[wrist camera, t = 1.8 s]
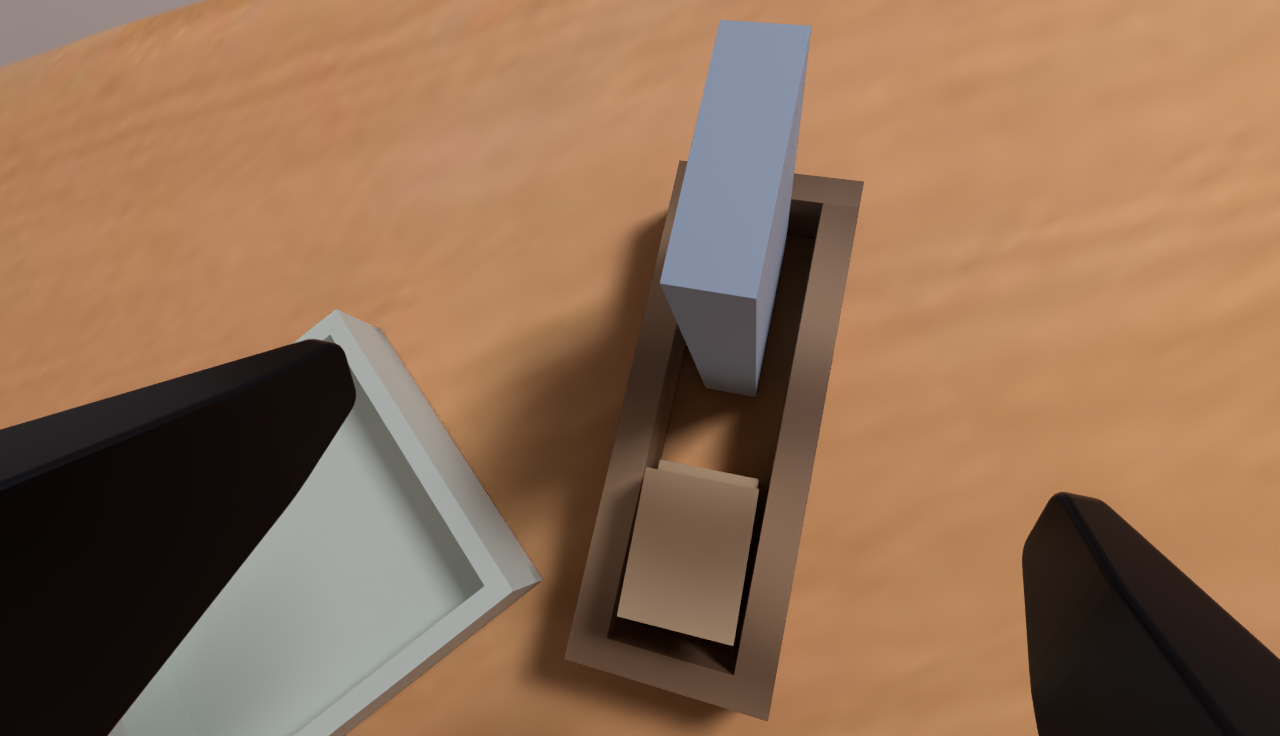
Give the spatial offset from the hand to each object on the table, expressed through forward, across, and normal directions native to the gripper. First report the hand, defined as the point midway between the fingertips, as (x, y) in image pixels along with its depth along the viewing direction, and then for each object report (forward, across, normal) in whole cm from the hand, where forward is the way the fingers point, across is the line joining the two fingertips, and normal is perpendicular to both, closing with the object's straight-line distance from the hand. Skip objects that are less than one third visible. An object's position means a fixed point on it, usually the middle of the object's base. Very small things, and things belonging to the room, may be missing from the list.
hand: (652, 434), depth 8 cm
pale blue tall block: (+12, 0, +5) cm, 13 cm away
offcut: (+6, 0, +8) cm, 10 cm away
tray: (+4, +13, +13) cm, 18 cm away
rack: (+10, 0, +7) cm, 12 cm away
